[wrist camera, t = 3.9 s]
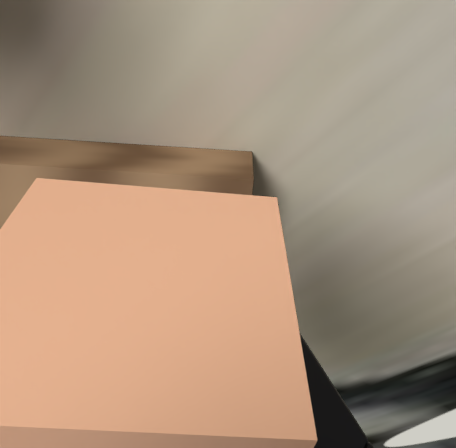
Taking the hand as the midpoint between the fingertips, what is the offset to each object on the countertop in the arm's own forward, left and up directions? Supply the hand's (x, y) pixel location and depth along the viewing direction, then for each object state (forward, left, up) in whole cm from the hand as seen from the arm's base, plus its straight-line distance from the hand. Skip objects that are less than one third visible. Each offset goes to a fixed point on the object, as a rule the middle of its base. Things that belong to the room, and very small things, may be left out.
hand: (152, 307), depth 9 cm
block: (0, 0, -1) cm, 1 cm away
